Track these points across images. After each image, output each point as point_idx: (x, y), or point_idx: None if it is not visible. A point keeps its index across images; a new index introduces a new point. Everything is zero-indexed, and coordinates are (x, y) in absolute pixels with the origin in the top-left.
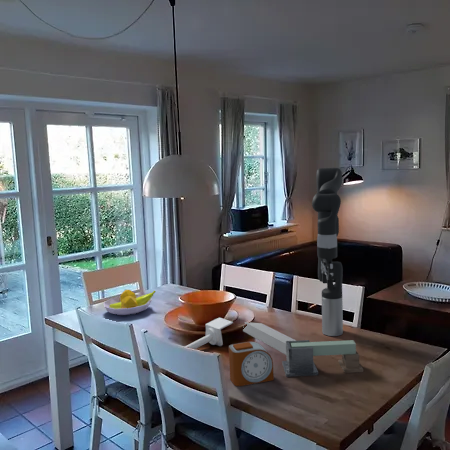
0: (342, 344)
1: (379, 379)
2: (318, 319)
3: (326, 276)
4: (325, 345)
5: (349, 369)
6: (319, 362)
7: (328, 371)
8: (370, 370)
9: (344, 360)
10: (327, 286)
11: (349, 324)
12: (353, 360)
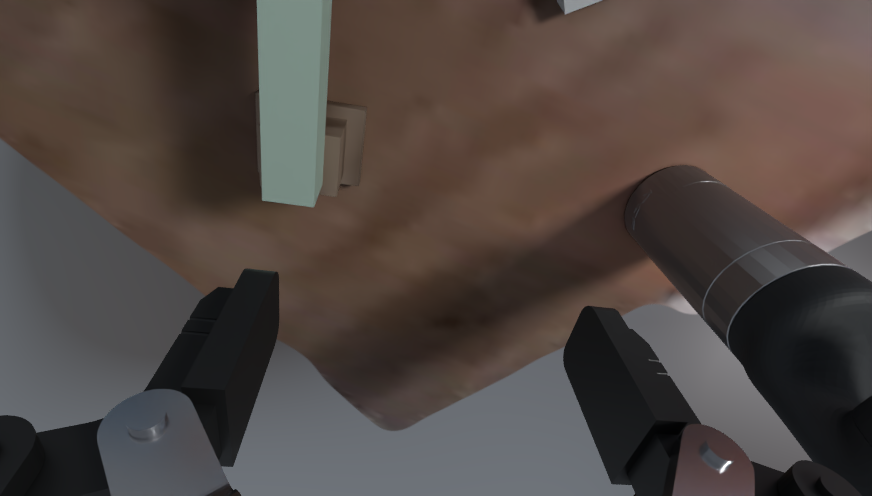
0: (260, 131)
1: (193, 196)
2: (836, 207)
3: (607, 428)
4: (258, 24)
5: (257, 115)
6: (388, 15)
7: None
8: None
9: None
10: (238, 290)
11: None
12: None
